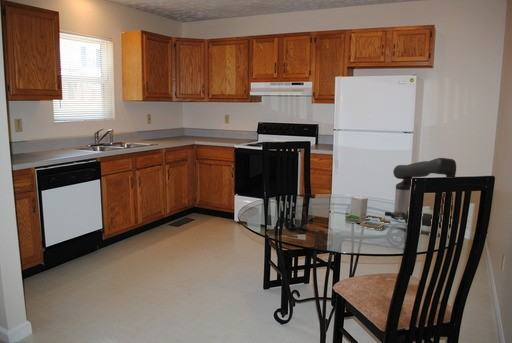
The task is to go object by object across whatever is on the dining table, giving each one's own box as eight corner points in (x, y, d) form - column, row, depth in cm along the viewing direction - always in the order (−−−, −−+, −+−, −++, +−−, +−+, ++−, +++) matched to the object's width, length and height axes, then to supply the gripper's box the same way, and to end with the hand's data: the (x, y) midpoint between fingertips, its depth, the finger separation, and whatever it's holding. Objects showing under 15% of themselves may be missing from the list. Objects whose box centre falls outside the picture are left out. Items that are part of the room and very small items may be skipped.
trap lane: (357, 216, 268) (357, 210, 267) (393, 222, 254) (393, 215, 254) (341, 223, 248) (342, 217, 248) (380, 230, 235) (380, 223, 234)
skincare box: (349, 221, 255) (350, 196, 253) (355, 219, 260) (356, 195, 257) (360, 224, 249) (361, 198, 247) (366, 222, 253) (368, 197, 251)
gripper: (418, 209, 239) (389, 205, 249) (412, 213, 228) (381, 209, 238) (417, 222, 240) (388, 217, 250) (411, 227, 229) (381, 222, 239)
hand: (385, 213), depth 244 cm, fingers closed
